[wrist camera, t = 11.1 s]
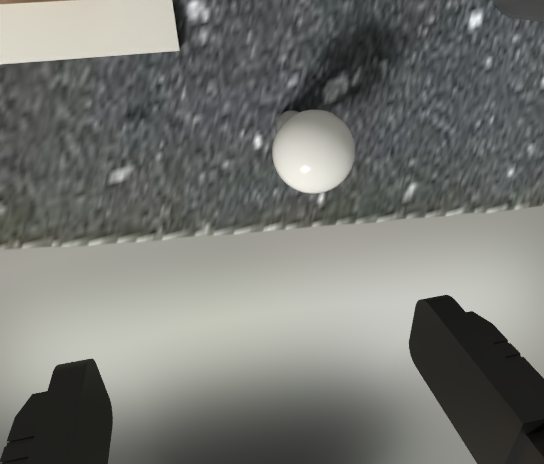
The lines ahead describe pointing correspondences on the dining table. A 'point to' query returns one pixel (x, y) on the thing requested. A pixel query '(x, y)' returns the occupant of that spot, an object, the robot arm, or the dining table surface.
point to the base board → (85, 29)
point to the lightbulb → (312, 150)
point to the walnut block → (26, 1)
